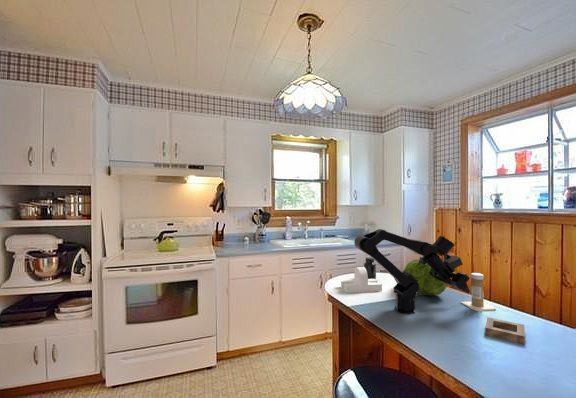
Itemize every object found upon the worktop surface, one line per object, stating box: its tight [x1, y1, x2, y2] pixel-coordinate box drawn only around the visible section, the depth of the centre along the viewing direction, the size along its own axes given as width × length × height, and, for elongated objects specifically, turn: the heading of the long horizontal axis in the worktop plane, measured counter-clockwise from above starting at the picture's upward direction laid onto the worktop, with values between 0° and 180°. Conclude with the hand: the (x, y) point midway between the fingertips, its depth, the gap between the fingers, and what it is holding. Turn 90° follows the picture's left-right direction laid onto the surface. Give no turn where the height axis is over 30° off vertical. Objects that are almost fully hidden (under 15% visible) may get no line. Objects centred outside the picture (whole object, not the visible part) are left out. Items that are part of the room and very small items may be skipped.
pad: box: [460, 300, 497, 312], centre depth 125 cm, size 9×9×1 cm
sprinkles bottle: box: [470, 272, 485, 307], centre depth 124 cm, size 5×5×13 cm
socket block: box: [484, 317, 526, 345], centre depth 100 cm, size 11×11×2 cm
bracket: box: [340, 266, 383, 294], centre depth 150 cm, size 19×10×11 cm, turn 94°
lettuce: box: [402, 258, 449, 297], centre depth 143 cm, size 17×23×17 cm
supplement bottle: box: [363, 256, 377, 280], centre depth 168 cm, size 7×7×12 cm
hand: (461, 288), depth 124 cm, fingers open, 9 cm apart
